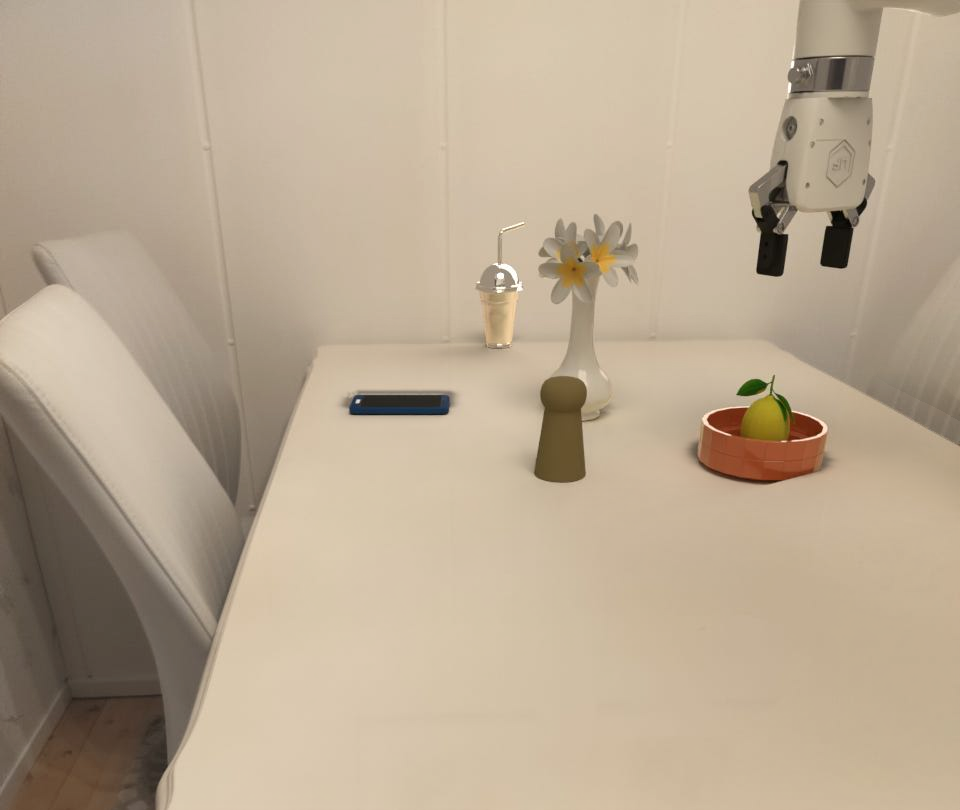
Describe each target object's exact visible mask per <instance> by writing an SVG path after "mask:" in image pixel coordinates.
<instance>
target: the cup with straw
mask: <svg viewBox="0 0 960 810" xmlns="http://www.w3.org/2000/svg"><path fill="white" fill-rule="evenodd" d="M524 227H526V224H525V222H520V223H517V224H514V225H511V226H508V227H505V228H502V229H500V230H499V232H498V234H497V262H496V263H492V264H490V265H488V266H487V267H486V268H485V269H484V270H483V271H482V273H481V276H480V278H479V281H477V282H475V287H474V289H475V290H476V291H479V300H480V304H481V308H482V318H483V325H484V326H483V327H484V329H483V330H484V338H485V340H486V341H485V342H486V344H485V346H486V347H488V348H491V349H507V348H511V347H512V340H513V337H514V336H513V335H514V327H515V320H516V311H517V305H518V302H519V297H520V291H523V290H524V283H523V282H522V281H520V278H519V275H518V273H517V271H516V270H515V268H513V267H512V266H511V265H509V264H507V263H502V262H503V261H502V259H503V252H502V251H503V235H504V234H506V233H509V232H512V231H515V230H518V229H521V228H524Z"/></svg>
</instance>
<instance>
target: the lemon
mask: <svg viewBox="0 0 960 810" xmlns="http://www.w3.org/2000/svg"><path fill="white" fill-rule="evenodd" d="M775 378H776V374H773V375H772V377H771V381H769V382H765V381H764V380H762V379H760V378H751V379H749V380H747V381H745V382H744V383H743V384H742V385H741V386H740V388H739V389H738V390H737V392H736V394H735V395H736V396H737V397H738V396H739V397H751V396H756V395H759V394H762V393H764V392H765V391H766V390H767V388H768V386H769V385H770V388H769V393H768V394H766V395H765V396H764V397H760V398H758V399H756V400H754V402H752V403H751V404H750V405H749V406H750V407H749V408H748V410H747V411H746V413H745V415H744V417H743V420H742V424H741V431H740V434H741V437H744V438H750V439H759V440H772V441H787V440H788V437H789V432H790V419H789V414H790V416H791V418H792V420H793V422H794V418H793V414H792V411H793V410H792V408H791V405H790V403H789V401H788V399H786V398H785V396H783V395H782V394H779V393H777V392H775V390H774V382H775ZM775 396H776V397H775ZM788 413H789V414H788ZM794 424H795V422H794Z"/></svg>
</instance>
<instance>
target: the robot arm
mask: <svg viewBox="0 0 960 810" xmlns="http://www.w3.org/2000/svg"><path fill="white" fill-rule="evenodd" d="M884 8H886V9H896V10H905V11H908V12H912V13H913V12H914V13H919V14H924V15H926V16H930V17H931V16H932V17H938V18H939V17H940V18H941V17H948V16H952V15H955V14H958V13H960V0H799V3H798V10H797V17H796V18H797V19H796V26H795V33H794V41H793V49H792V56H791V57H792V58H791V59H792V61H791V66H790V69H789V71H788V73H787V81H788V87H787V95H786V98H785V99H784V101H783V105H782V108H781V111H780V115H779V119H778V122H777V126H776V131H775V136H774V140H773V145H772V149H771V155H770V160H769V168H768V172H766V173H765V174H763V175H762V176H761V177H760V178H759V179H757V180H756V181H754V182H753V183H752V184H751V185H750V186H749V188H748V197H749V200H750V201H749V202H750V206H751V208H752V209H751V217H752V218H753V220H754V221H755V223H756V227H755V228H756V232H757V233H759V234H760V236H759V244H758V252H757V261H756V268H755V271H756V274H757V275H760V276H767V277H774V278H778V277H782V276H783V275H784V272H785V266H786V260H787V259H786V257H787V250H788V244H789V233H785V231H786V229H787V228H788V226H789V225H790V223H791V222H792V221H793V219H794V217H795V215H797V212H800V213H804V214H805V213H806V214H807V213H813V214H814V213H824V212H825V213H826V215H827V217H828V219H829V222H830V224H831V225H825V229H824V235H823V242H822V248H821V254H820V260H819V265H820V266H821V267H825V268H830V269H831V268H832V269H840V270H841V269H847V268H848V265H849V261H850V260H849V259H850V254H851V247H852V242H853V235H854V230H855V228H856V227H857V226H858V225H859V223H860V217H861V215H862V214H863V213H864V211H865V210H866V208H867V205H868V201H869V198H870V196H871V194H872V192H873V190H874V188H875V186H876V179H875V178H874V177H873V176H872V175H871V174H870V173H869V168H870V159H871V151H872V141H873V140H872V139H873V123H874V122H873V121H874V120H873V119H874V117H873V113H874V111H873V110H874V109H873V98H872V97H869V96H870V89H871V83H872V78H873V71H874V66H875V59H876V58H875V57H876V55H877V54H876V53H877V47H878V41H879V36H880V30H881V23H882V17H883V11H884ZM778 214H780V215H779V216H778Z"/></svg>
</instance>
